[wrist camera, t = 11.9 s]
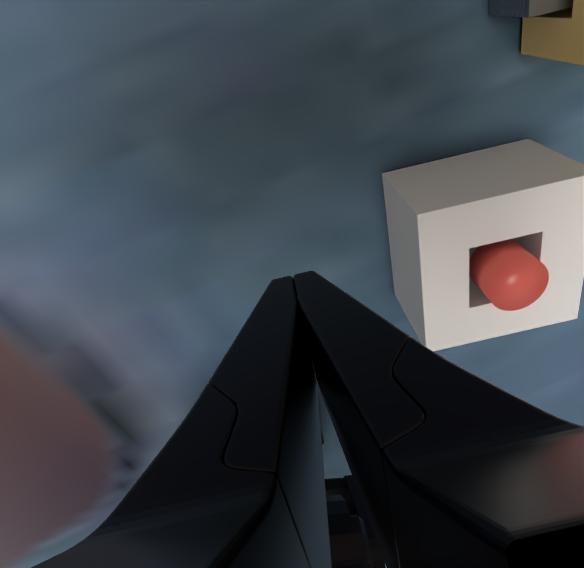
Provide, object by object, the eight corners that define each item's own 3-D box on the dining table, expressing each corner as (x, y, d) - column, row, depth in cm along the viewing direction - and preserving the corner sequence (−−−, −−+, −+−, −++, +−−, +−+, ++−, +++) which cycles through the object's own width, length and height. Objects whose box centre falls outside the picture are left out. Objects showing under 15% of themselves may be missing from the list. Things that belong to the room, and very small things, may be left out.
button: (520, 278, 21) (546, 303, 19) (467, 290, 21) (488, 316, 19) (524, 230, 19) (551, 253, 18) (467, 243, 19) (489, 267, 18)
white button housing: (527, 263, 25) (585, 316, 21) (394, 294, 25) (426, 352, 21) (536, 136, 22) (610, 169, 17) (381, 173, 22) (417, 214, 18)
